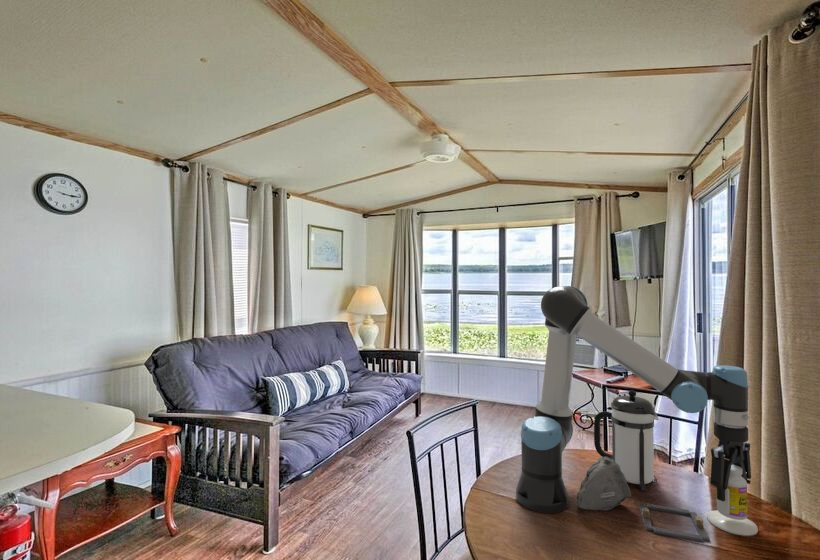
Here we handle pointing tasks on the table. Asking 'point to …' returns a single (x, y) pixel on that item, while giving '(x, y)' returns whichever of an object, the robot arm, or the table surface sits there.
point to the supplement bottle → (737, 494)
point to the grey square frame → (696, 520)
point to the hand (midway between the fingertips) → (731, 508)
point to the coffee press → (631, 438)
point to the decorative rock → (603, 486)
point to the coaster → (732, 524)
